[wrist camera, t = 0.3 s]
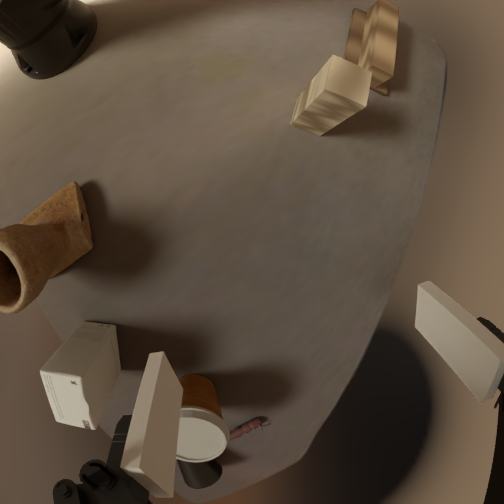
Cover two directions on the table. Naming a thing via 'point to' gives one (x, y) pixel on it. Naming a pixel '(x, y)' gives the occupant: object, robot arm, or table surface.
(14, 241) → the tan upright curved piece
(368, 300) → the table surface
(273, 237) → the table surface
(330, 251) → the table surface
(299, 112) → the block
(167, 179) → the table surface
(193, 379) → the disposable coffee cup
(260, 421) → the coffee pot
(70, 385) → the skincare box
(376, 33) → the ridge
